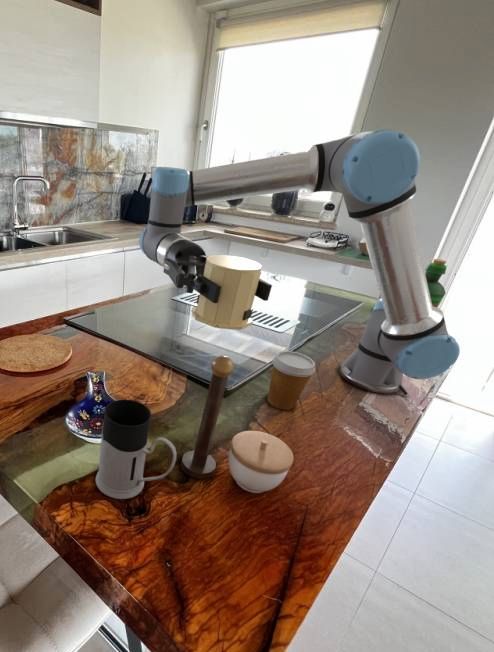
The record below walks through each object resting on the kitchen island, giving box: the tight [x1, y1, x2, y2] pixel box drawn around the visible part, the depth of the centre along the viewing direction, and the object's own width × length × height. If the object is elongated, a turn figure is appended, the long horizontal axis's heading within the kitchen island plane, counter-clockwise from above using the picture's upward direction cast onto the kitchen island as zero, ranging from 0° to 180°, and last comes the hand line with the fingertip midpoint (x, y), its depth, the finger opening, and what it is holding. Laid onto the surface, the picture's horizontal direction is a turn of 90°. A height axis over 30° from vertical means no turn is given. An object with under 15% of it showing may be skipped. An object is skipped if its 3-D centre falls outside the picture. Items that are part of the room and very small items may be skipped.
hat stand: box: [180, 355, 235, 480], centre depth 73 cm, size 6×6×24 cm
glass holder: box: [95, 399, 178, 500], centre depth 69 cm, size 9×14×15 cm, turn 50°
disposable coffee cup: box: [266, 350, 316, 411], centre depth 98 cm, size 10×10×12 cm
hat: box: [190, 254, 263, 331], centre depth 72 cm, size 10×10×10 cm
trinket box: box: [227, 430, 294, 494], centre depth 74 cm, size 11×11×9 cm
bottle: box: [424, 258, 448, 308], centre depth 134 cm, size 11×11×28 cm
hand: (243, 294), depth 68 cm, fingers closed on hat, 9 cm apart
